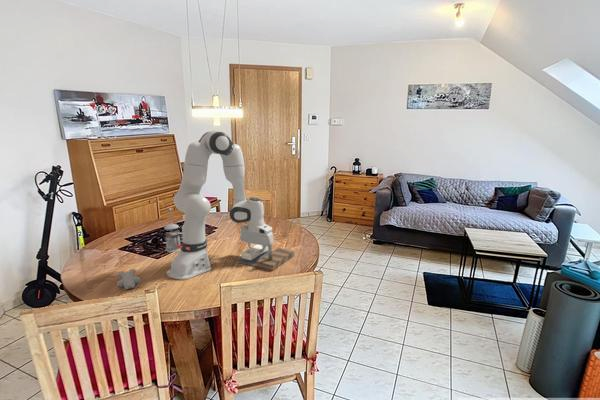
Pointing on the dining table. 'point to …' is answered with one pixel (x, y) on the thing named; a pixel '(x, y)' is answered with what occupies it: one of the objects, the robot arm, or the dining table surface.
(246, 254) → the link
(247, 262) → the mat
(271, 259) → the stand
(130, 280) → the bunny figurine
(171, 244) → the french press
